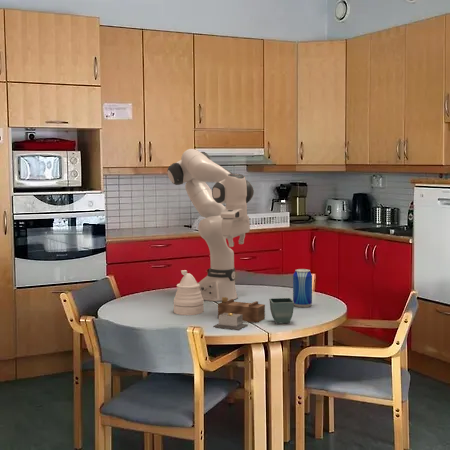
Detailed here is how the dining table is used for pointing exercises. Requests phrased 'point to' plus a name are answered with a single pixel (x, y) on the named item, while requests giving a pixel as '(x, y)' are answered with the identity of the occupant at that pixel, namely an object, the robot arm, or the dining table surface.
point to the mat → (230, 327)
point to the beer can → (302, 288)
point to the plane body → (243, 309)
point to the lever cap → (230, 320)
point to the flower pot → (281, 309)
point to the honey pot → (188, 296)
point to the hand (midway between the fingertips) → (236, 245)
